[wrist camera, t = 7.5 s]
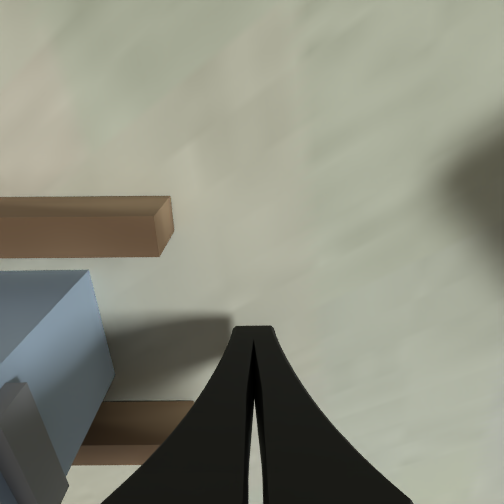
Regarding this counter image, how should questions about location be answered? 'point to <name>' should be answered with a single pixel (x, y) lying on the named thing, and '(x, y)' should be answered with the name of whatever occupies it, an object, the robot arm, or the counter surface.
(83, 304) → the pale blue-grey cube
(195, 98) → the counter surface
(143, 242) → the bay
